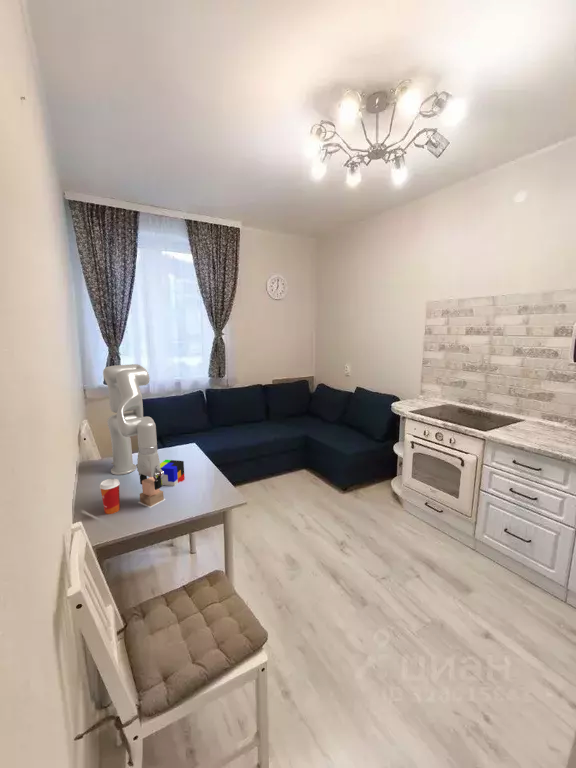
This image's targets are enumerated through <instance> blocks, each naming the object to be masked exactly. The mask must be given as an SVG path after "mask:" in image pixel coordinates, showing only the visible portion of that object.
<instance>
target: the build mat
mask: <svg viewBox="0 0 576 768" xmlns="http://www.w3.org/2000/svg"><path fill="white" fill-rule="evenodd" d="M166 500H167V499H166V498H164V500H162V501H160V502H158V503H156V504H154V505H153V506H148V505H146V504H143V503H141V502H140V501H138V502H137V503H138V504H140V505H142V506H145V507H147V508H150V509H151V508H152V507H155V506H156V505H158V504H160V503H163V502H164V501H166Z"/></svg>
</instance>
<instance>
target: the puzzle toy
mask: <svg viewBox="0 0 576 768" xmlns="http://www.w3.org/2000/svg"><path fill="white" fill-rule="evenodd" d="M184 463H185V461H184V460H176V459H175V460H173V459H164V460H163V461H162V462H160V469H161V470H162V471H163V472H164V474H163V477H162V479H161V485H162V486H168V487H169V486H171V487H175V486H177V484H179V483H180V482H181V483H182V482H183V481H184V480H185V478H186V477H185V464H184ZM155 474H156V473H155ZM156 477H158V475H156Z"/></svg>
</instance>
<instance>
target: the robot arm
mask: <svg viewBox="0 0 576 768" xmlns="http://www.w3.org/2000/svg"><path fill="white" fill-rule="evenodd" d="M102 375H103V379H104V381H105V383H106V385H107V387H108V399H109V400H108V401H109V409H110V411H111V412H113V414H112V415H110V416H109V417H108V419H107V421H106V422H107V427H108V430H109V435H110V441H111V451H112V452H111V453H112V460H113V461H111V465H113V467H112V468H111V469H110V472H111V474H113V475H117V476H118V475H120V476H121V475H122V476H123V475H127V474H130V473H132V472H134V471H135V470H137V472H138V476H139V483H140V485H142V481H143V480H145V479H147V478H149V477H153V478H154V479H155V481H154V486H155V490H157V489H161V488H162V486H163V485H161V479H162V477H163V474H164V472H163V471H162V470H161V469H160V463H161V461H160V457H159V453H158V444H157V443H158V441H157V438H158V437H157V426H156V423H155V421H154V419H153V418H152V417H150V416H144V407H143V406H144V405H143V404H144V403H143V395H142V392H141V388H140V387H143V386H147V385H149V383H150V381H151V380H150V378H151V377H150V374H149V372H148V370H147V369H146V368H145V367H143V366H142V365H140V364H138V363H135V364H119V365H117V364H116V365H110V366H106V367H105V368H104V369H103V370H102ZM114 413H115V414H114ZM135 436H137V447H138V448H137V449H138V451H137V463H136V464H135V463H134V459H133V451H132V438H131V437H135ZM155 473H156V474H155ZM156 475H158V477H156Z"/></svg>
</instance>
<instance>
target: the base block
mask: <svg viewBox="0 0 576 768" xmlns="http://www.w3.org/2000/svg"><path fill="white" fill-rule="evenodd" d="M164 499H165V497H164V491H163V490H161V489H160V492H158V493H156V494H154V495H152V496H148V495H145V494H143V492H141V493H139V502H141V503H143V504H146V505H148V506H153V505H154V504H156V503H158V502H160V501H162V500H164ZM164 501H165V500H164ZM162 502H163V501H162ZM160 503H161V502H160ZM158 504H159V503H158ZM156 505H157V504H156ZM153 507H154V506H153Z"/></svg>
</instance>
